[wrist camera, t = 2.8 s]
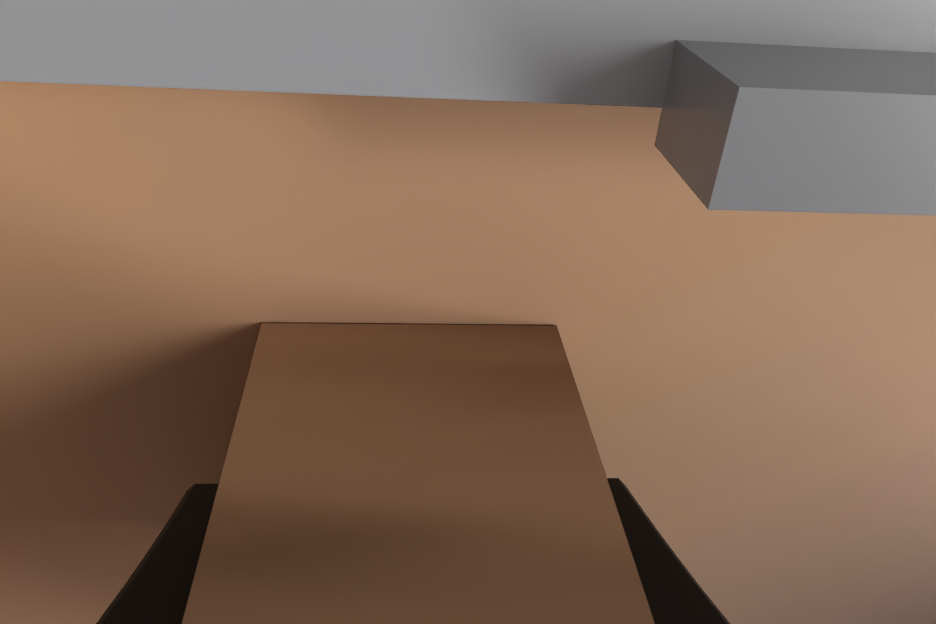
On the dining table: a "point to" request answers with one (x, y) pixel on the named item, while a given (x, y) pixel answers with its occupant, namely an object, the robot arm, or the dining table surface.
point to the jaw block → (413, 485)
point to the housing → (563, 74)
